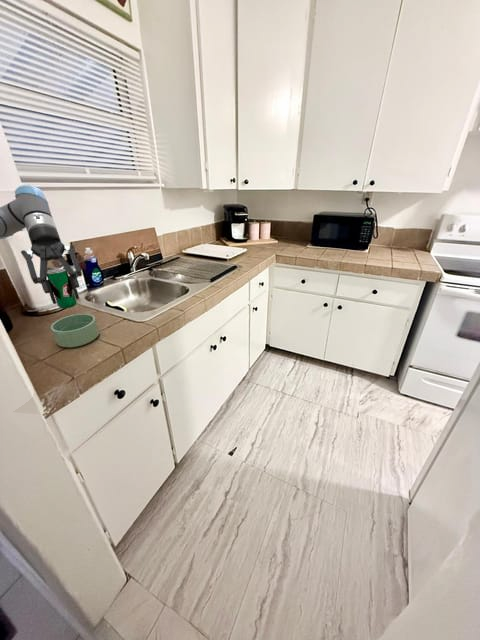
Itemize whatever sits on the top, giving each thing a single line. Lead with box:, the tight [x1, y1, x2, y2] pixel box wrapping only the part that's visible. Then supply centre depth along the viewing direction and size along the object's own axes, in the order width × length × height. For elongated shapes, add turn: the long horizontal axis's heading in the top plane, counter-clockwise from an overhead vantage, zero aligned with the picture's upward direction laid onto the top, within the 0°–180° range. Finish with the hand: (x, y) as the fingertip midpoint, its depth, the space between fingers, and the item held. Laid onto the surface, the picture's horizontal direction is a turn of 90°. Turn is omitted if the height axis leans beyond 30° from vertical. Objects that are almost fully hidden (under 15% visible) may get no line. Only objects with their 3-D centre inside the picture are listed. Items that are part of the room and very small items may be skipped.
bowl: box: [50, 313, 100, 348], centre depth 84 cm, size 12×12×6 cm
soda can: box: [46, 265, 78, 310], centre depth 77 cm, size 5×5×12 cm
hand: (65, 299), depth 75 cm, fingers closed on soda can, 5 cm apart
